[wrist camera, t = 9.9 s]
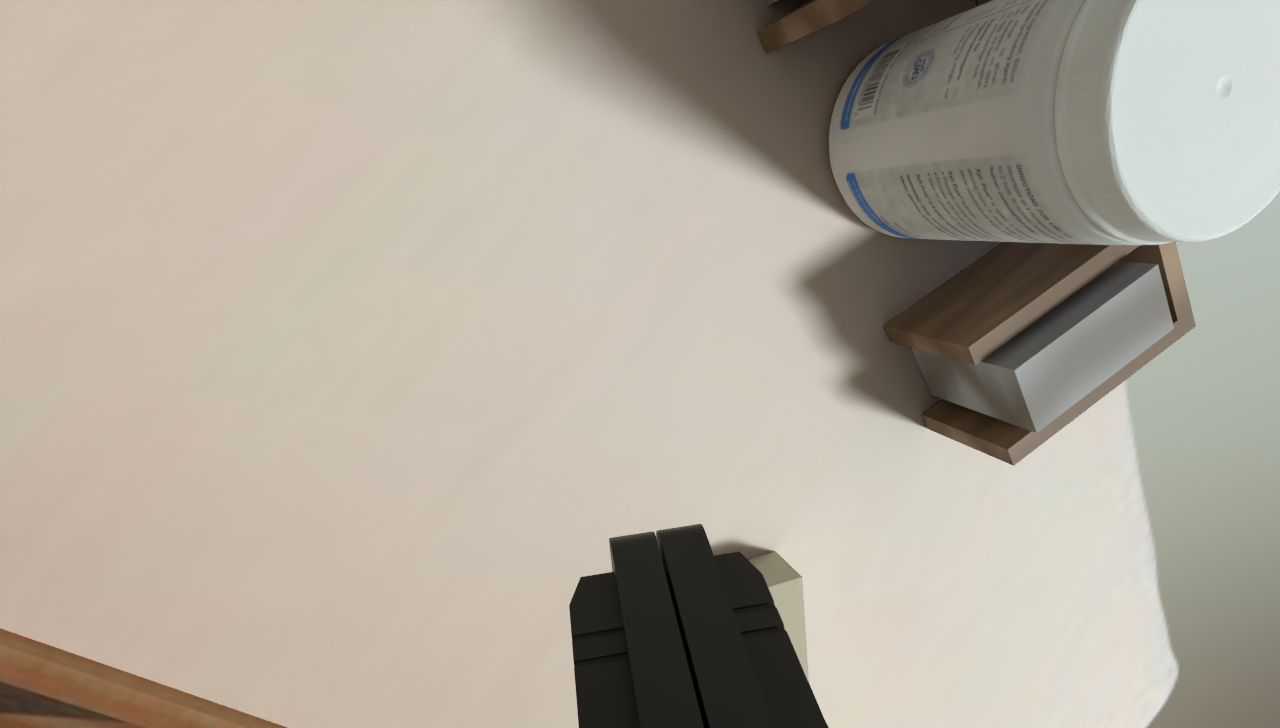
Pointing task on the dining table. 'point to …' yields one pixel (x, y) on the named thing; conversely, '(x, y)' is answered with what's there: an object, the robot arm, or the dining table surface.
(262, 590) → the dining table surface
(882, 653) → the dining table surface
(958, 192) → the supplement tub
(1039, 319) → the rack
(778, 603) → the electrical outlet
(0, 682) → the wooden box
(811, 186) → the dining table surface
